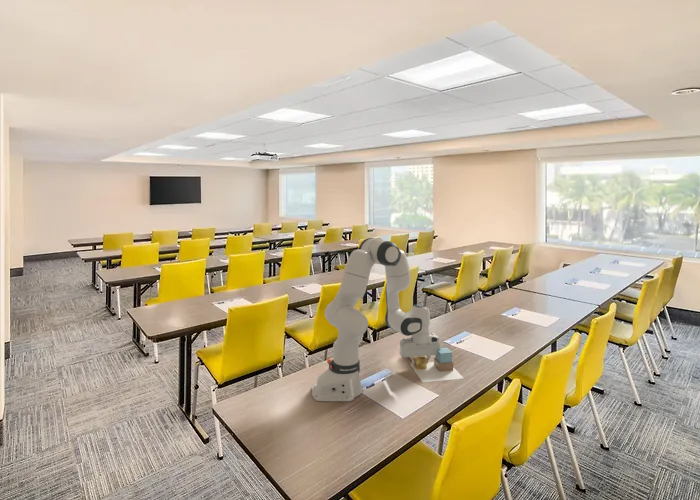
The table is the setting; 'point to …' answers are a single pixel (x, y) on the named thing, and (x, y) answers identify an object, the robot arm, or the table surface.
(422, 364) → the ochre block
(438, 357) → the teal block
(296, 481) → the table surface
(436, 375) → the board
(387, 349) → the table surface
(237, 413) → the table surface
